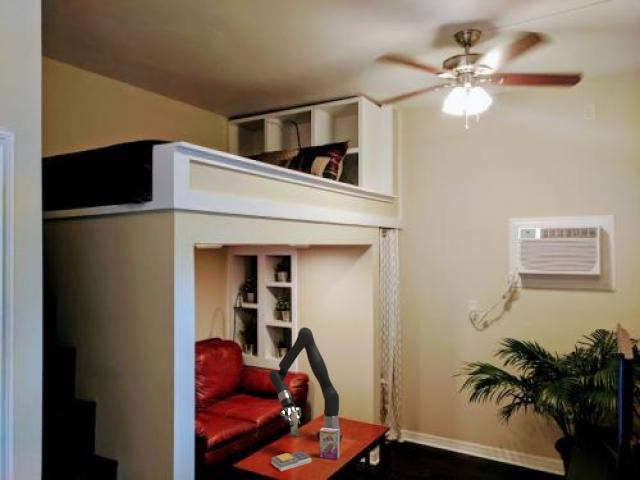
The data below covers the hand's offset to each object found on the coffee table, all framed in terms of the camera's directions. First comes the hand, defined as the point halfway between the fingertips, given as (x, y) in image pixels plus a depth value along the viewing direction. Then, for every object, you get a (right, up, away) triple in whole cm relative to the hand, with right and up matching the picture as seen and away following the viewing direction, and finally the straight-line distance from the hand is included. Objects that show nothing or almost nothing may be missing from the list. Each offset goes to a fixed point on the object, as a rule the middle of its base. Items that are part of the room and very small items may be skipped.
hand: (295, 425), depth 291 cm
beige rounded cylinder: (-1, -6, +2) cm, 7 cm away
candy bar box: (+20, -18, -2) cm, 27 cm away
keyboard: (-2, -18, -9) cm, 20 cm away
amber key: (-6, -15, -11) cm, 19 cm away
